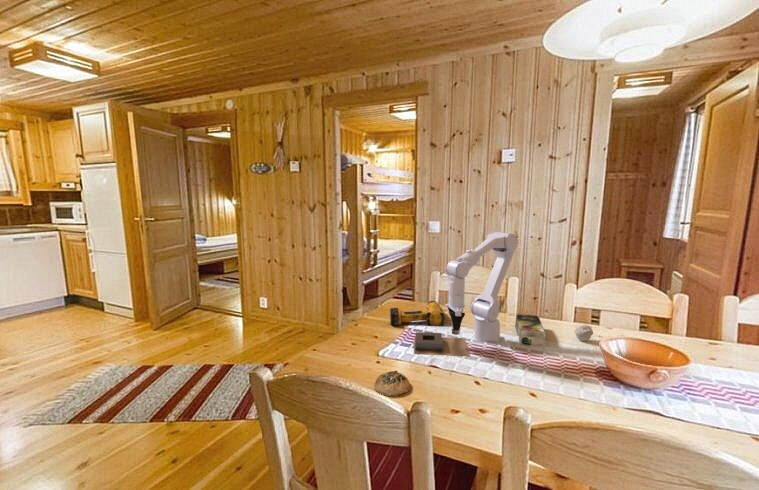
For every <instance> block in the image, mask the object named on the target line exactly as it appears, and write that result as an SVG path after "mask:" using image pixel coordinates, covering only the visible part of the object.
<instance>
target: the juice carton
mask: <svg viewBox="0 0 759 490" xmlns="http://www.w3.org/2000/svg"><path fill="white" fill-rule="evenodd" d="M514 326H515V330H516V334H517V337H518V340H519V344H530V345H531V344H532V346H533V345H534V346H542V345H543V347H544V346H546V330H544V326H543V324H542V321H541V320H540V317H539V316H538V315H530V314H528V315H527V314H516V315H515V324H514Z"/></svg>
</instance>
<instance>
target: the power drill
mask: <svg viewBox="0 0 759 490" xmlns="http://www.w3.org/2000/svg"><path fill="white" fill-rule="evenodd" d="M389 311H390V312H389V316H390V317H389V319H390V325H391V326H400V325H401V324H402V323H405V322H406V323H407V322H408V323H409V322H420V321H426V326H427V327H430V326H432V327H435V326H436V327H437V326H440V327H444V325H445V323H444V322H445V318H446V316H445V312H444V310H443V308H442V307H441V305H440V304H439V303H438V302H437V301H435V300H431V301H429V302H427V305H426V307H425V308H424V309H423V310H416V311H404V310H403V311H402V310H401V309H400V308H399V307H391V308H390V309H389Z"/></svg>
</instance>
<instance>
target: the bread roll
mask: <svg viewBox="0 0 759 490" xmlns="http://www.w3.org/2000/svg"><path fill="white" fill-rule="evenodd" d="M374 388H375V389H374V390H375V392H376V393H377V392H378V393H377V394H379V393H381V394H383V395H382V396H387V397H389V396H390V397H397V396H400V395H402V394H405V393H407V392H408V391H410V389H411V384H410V381H409V379H408V377H406V376H405V375H404V374H403V373H401V372H399V371H398V370H392V371H391V370H389V371H388V372H385V373H383V374H380V375H379V376H378V377H377V378H376V380H375V382H374ZM381 394H380V395H381Z"/></svg>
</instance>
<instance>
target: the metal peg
mask: <svg viewBox="0 0 759 490" xmlns="http://www.w3.org/2000/svg"><path fill="white" fill-rule="evenodd" d="M460 333H461V329H460V330H459V331H456V330H453V325H452V324H451V334H452V335H455V336H457V335H458V336H459V335H460Z"/></svg>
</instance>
